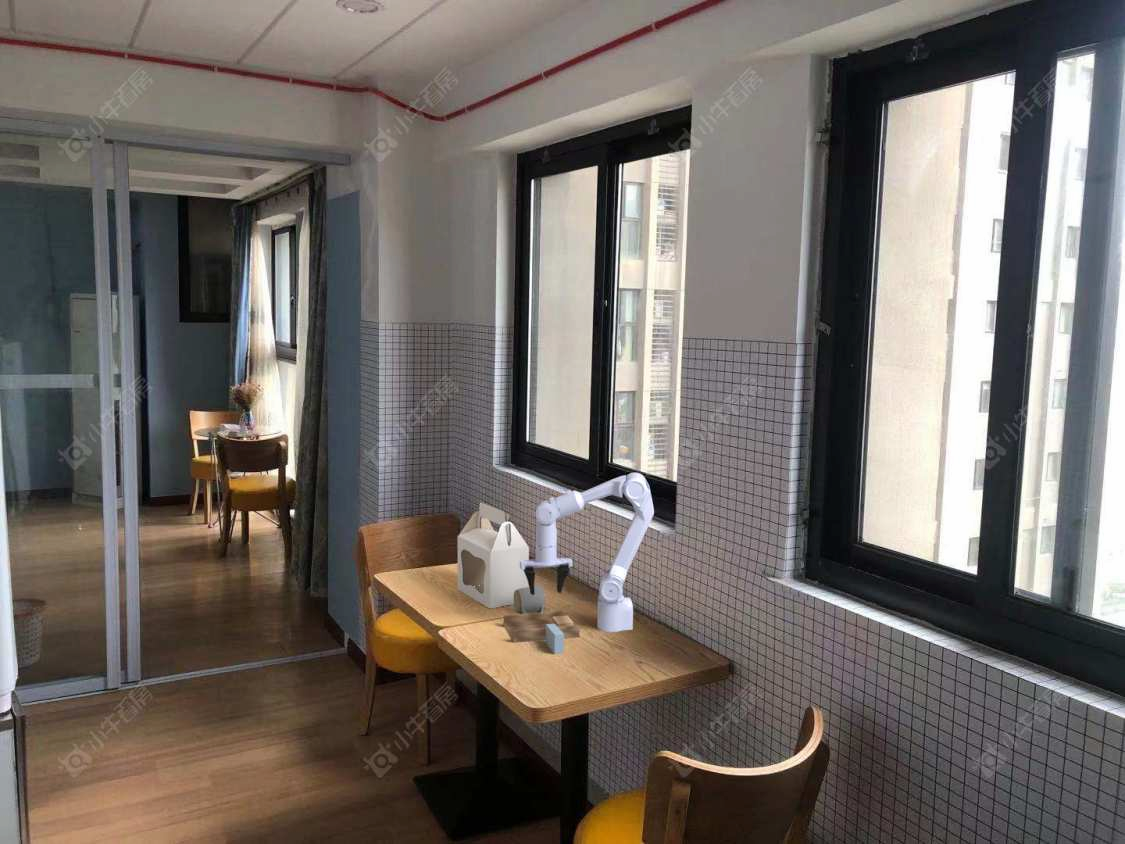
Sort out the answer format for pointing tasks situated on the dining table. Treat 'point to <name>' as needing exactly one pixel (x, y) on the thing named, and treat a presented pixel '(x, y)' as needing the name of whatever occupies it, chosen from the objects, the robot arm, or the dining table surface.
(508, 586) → the gable box
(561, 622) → the offcut top
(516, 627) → the rack
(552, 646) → the block
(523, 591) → the ceramic mug
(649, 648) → the dining table surface
